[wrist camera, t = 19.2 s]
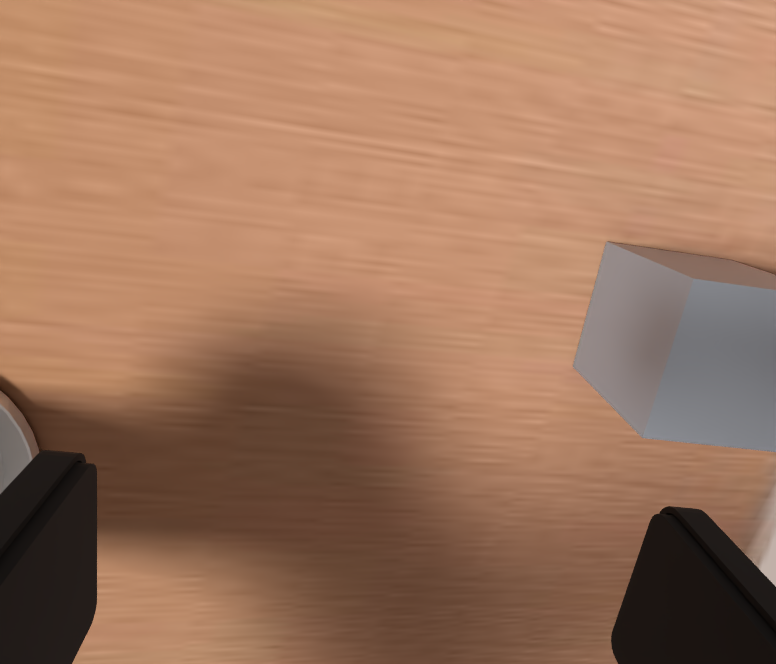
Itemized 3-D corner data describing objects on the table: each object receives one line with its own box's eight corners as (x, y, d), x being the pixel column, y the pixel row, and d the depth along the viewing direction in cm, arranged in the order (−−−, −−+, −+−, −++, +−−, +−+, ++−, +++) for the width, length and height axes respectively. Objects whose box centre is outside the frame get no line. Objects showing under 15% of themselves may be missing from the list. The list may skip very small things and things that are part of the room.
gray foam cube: (690, 380, 37) (791, 453, 29) (572, 366, 36) (642, 438, 28) (730, 259, 35) (854, 301, 26) (606, 241, 34) (693, 278, 25)
